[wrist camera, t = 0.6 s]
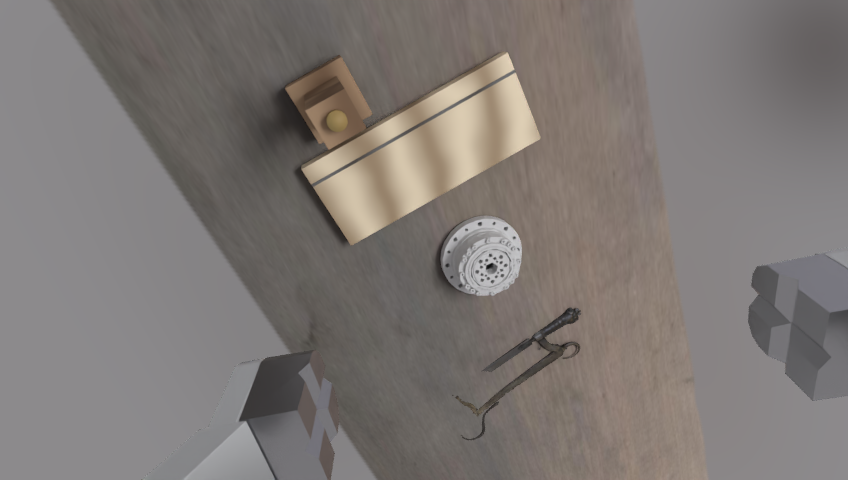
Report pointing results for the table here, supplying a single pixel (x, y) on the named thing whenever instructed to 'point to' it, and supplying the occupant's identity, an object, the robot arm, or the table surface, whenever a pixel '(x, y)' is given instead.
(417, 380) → the table surface
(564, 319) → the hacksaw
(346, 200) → the plank
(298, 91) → the wooden peg post
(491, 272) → the mechanical component
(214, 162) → the table surface
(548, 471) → the table surface
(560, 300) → the table surface
